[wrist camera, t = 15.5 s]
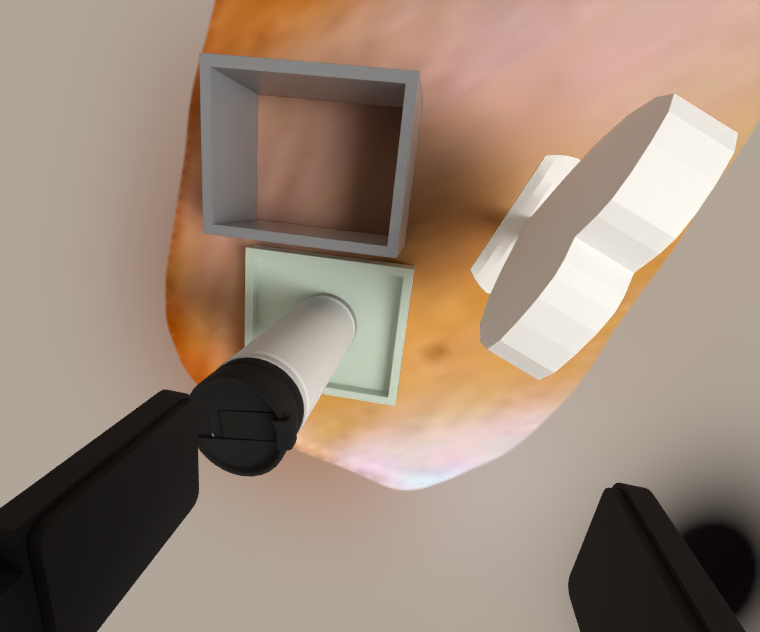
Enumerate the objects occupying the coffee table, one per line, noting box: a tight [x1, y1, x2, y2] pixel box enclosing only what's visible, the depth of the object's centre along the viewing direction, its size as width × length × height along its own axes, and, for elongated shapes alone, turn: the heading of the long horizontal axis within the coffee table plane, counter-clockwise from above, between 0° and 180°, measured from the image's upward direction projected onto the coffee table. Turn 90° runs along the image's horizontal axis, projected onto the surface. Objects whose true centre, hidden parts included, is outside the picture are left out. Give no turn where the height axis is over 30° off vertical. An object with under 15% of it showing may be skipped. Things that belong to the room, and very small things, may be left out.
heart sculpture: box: [470, 94, 738, 380], centre depth 28 cm, size 16×5×18 cm, turn 150°
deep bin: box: [199, 53, 423, 258], centre depth 33 cm, size 13×16×8 cm
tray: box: [245, 245, 415, 406], centre depth 40 cm, size 14×16×2 cm
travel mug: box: [190, 293, 357, 476], centre depth 31 cm, size 6×7×20 cm
